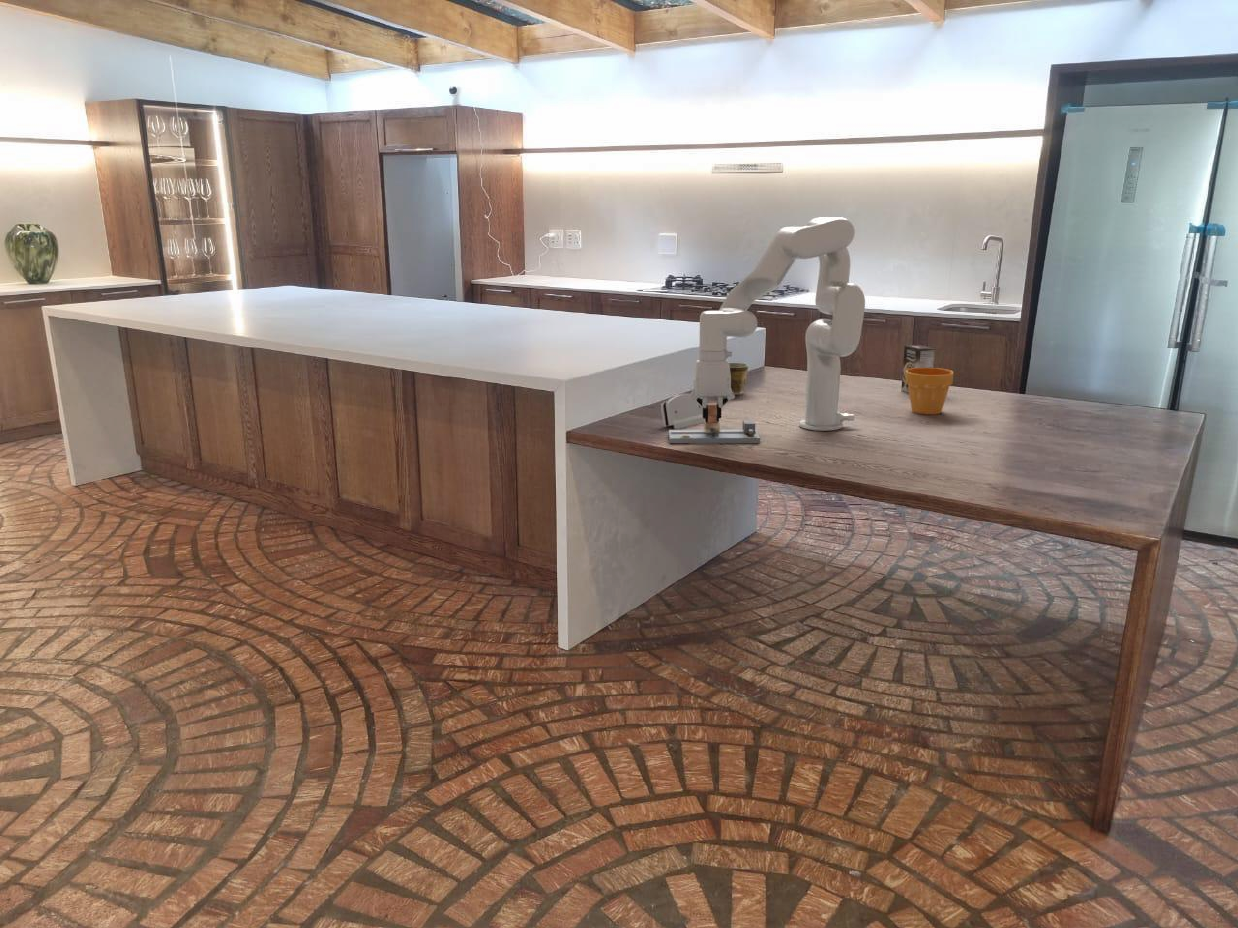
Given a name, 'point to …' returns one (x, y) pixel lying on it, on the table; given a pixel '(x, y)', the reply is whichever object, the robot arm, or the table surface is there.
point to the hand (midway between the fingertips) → (711, 420)
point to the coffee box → (916, 360)
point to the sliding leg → (712, 419)
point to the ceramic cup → (738, 377)
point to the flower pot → (928, 388)
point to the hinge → (681, 412)
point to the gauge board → (717, 435)
